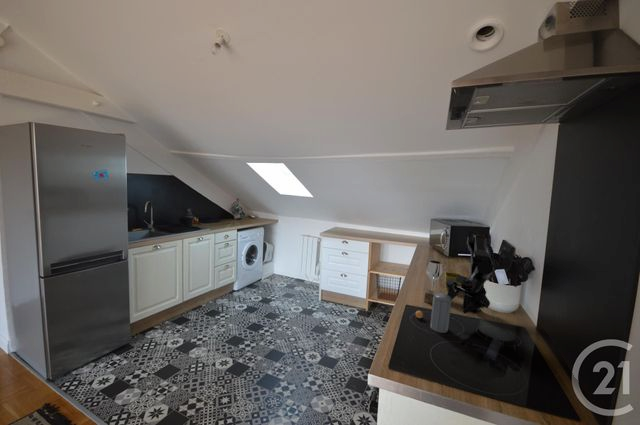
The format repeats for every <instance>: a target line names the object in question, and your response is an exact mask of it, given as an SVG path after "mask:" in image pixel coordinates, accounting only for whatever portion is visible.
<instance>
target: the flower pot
mask: <svg viewBox="0 0 640 425" xmlns="http://www.w3.org/2000/svg"><path fill="white" fill-rule="evenodd" d="M458 274H459V275H461V276H462V274H461V273H455V272H448V271H444V283H445V288H446V290H447V291H448V287H447V285H446V282H447V280H452V281H454V282H456V281H455V279H456V277H457V275H458ZM456 283H457V284H458V285H459V287H462V286H460V283H459V282H456Z"/></svg>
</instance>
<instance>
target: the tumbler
mask: <svg viewBox="0 0 640 425" xmlns="http://www.w3.org/2000/svg"><path fill="white" fill-rule="evenodd" d="M431 305H432V307H431V315H430V324H429V327H430V329H431V330H433V331H435V332H436V333H440V334H445V333H447V332H448V331H449V325H450V314H451V308H452V307H451V306H452V300H451V297H450V296H448V295H447V294H446V293H443V292H442V293H441V292H437V293H436V294H434V297H433V304H431Z"/></svg>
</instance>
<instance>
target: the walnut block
mask: <svg viewBox="0 0 640 425" xmlns="http://www.w3.org/2000/svg"><path fill="white" fill-rule="evenodd" d="M431 290H432V289H426V290H425V292H424V299H423V300H424V301H423V302H424V303H426V302H427V303H426V304H430V305H433V297H434V294H436V293H438V292H437V291H436V290H435V291H434V290H433V291H431Z"/></svg>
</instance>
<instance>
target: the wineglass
mask: <svg viewBox="0 0 640 425" xmlns="http://www.w3.org/2000/svg"><path fill="white" fill-rule="evenodd" d="M425 272H426V275H427V276H428V278H429V279H430V280H431V282H432V283H431V289H430V290H431V291H434V285H435V282H436V281H437V280H439V279H440V278H442V276H443V266H442V262H441V261H438V260H429V261H428V264H427V266H426V271H425Z"/></svg>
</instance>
